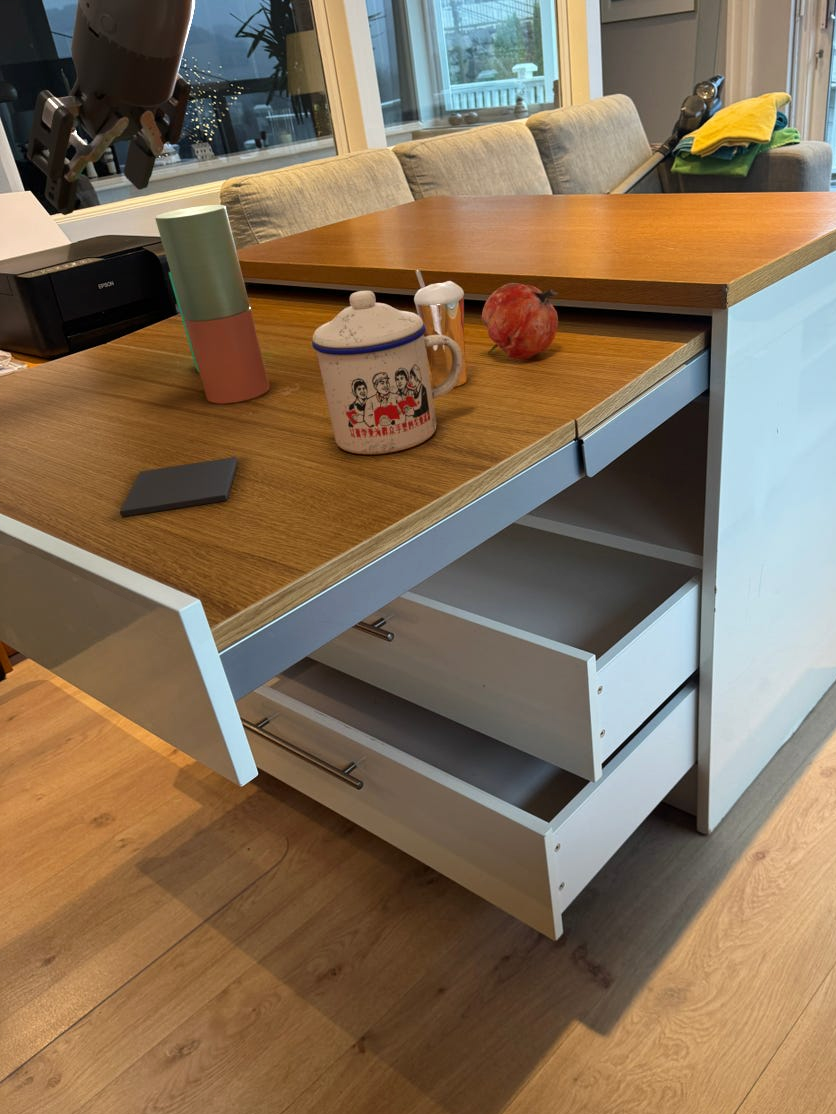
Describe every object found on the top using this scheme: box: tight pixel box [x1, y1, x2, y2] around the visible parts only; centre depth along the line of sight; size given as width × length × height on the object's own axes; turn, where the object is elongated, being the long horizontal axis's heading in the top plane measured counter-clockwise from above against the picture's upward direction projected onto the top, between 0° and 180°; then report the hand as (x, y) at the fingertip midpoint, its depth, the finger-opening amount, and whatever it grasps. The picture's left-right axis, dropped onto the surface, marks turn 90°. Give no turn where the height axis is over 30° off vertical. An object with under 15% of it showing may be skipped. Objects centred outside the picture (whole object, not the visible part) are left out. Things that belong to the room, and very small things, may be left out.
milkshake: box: [413, 269, 467, 388], centre depth 84 cm, size 4×5×10 cm
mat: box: [119, 456, 239, 518], centre depth 71 cm, size 8×8×1 cm
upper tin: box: [154, 204, 251, 321], centre depth 85 cm, size 6×6×9 cm
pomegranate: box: [481, 282, 559, 360], centre depth 89 cm, size 7×7×10 cm
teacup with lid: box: [311, 290, 462, 455], centre depth 73 cm, size 12×9×12 cm
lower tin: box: [184, 307, 271, 405], centre depth 89 cm, size 6×6×8 cm
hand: (98, 194), depth 78 cm, fingers open, 8 cm apart
